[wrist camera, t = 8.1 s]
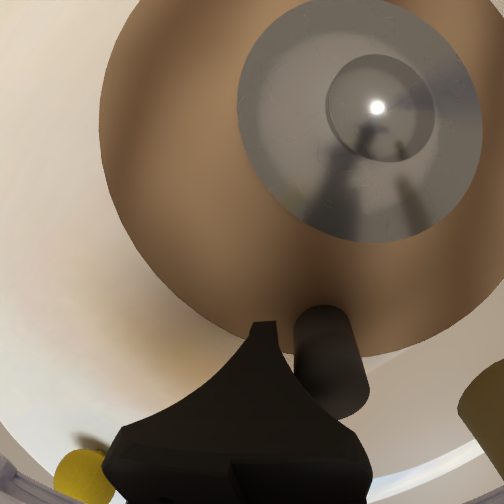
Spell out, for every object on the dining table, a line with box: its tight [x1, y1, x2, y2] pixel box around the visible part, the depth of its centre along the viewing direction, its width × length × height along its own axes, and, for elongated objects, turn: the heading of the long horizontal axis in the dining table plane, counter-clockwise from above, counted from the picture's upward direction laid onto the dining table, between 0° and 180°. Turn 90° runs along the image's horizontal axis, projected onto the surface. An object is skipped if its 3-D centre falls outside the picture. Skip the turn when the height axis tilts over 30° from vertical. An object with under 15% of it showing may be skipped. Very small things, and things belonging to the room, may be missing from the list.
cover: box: [237, 0, 483, 243], centre depth 8 cm, size 8×8×3 cm
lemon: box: [54, 449, 116, 504], centre depth 18 cm, size 6×6×8 cm
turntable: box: [99, 0, 504, 420], centre depth 8 cm, size 20×20×5 cm
